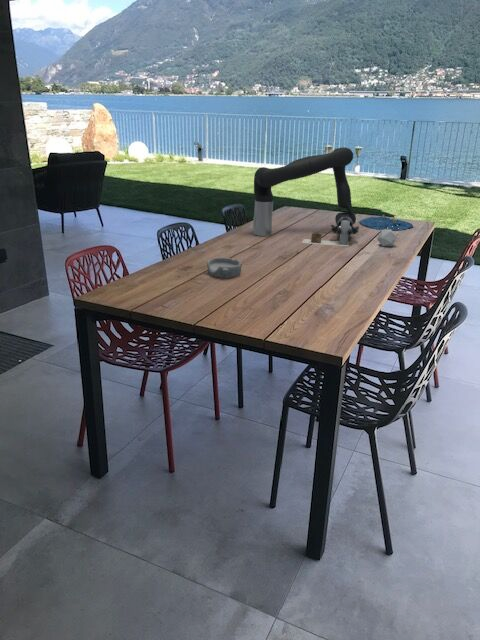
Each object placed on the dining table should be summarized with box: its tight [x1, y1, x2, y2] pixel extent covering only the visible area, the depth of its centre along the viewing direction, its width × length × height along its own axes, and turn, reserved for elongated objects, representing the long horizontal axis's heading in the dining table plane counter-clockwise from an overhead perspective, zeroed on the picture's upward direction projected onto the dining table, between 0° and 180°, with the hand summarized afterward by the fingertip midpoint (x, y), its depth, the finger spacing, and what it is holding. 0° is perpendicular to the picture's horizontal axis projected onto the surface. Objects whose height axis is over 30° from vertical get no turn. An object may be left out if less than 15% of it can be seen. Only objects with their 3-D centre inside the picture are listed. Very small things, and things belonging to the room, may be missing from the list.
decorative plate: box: [359, 214, 414, 231], centre depth 304 cm, size 30×30×5 cm
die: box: [376, 229, 398, 247], centre depth 259 cm, size 8×9×10 cm
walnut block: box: [311, 231, 323, 243], centre depth 256 cm, size 4×4×4 cm
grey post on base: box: [301, 220, 350, 247], centre depth 255 cm, size 22×8×12 cm, turn 79°
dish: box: [206, 257, 243, 279], centre depth 211 cm, size 14×14×5 cm
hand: (344, 232), depth 250 cm, fingers closed on grey post on base, 4 cm apart
